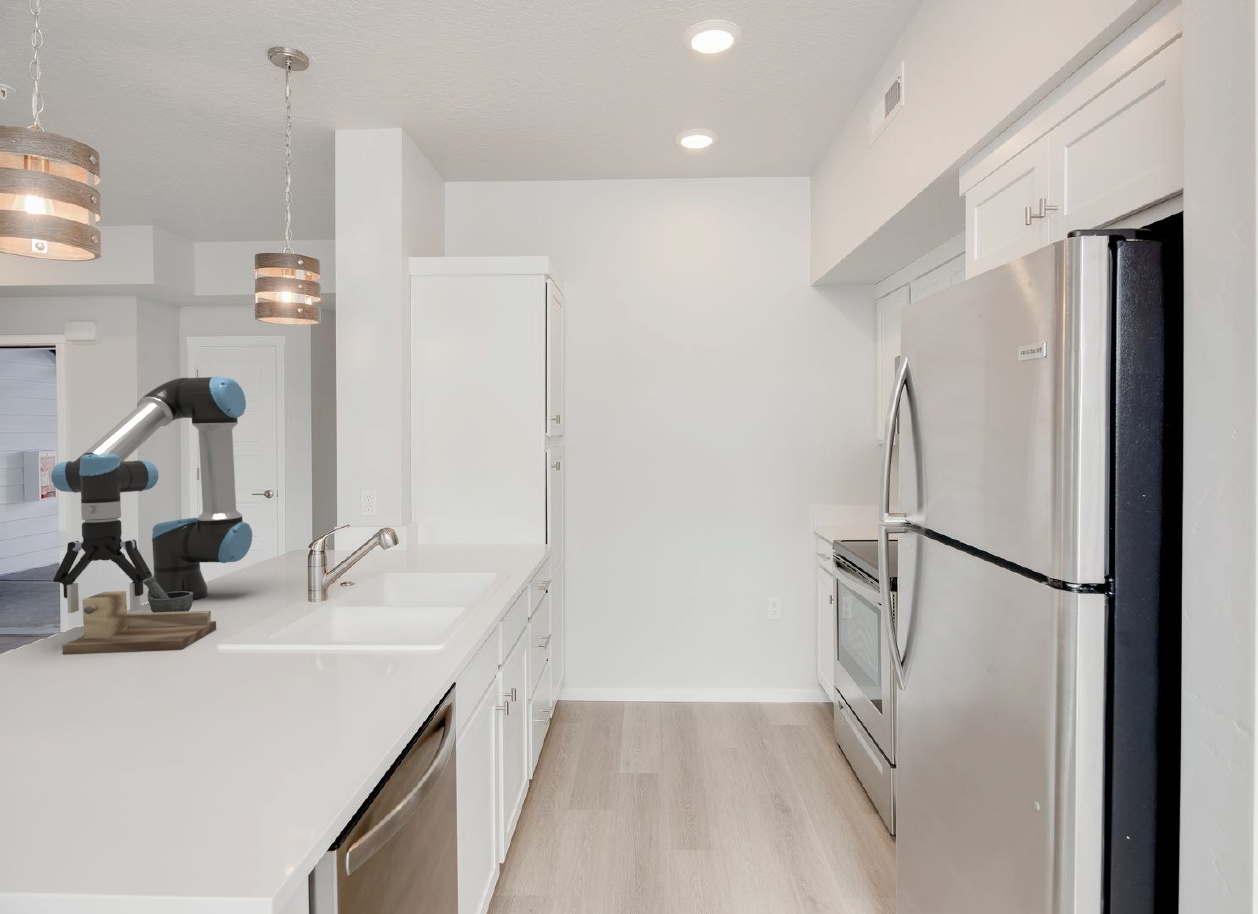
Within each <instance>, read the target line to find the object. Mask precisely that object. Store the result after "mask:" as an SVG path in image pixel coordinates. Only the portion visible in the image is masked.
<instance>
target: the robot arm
mask: <svg viewBox="0 0 1258 914" xmlns="http://www.w3.org/2000/svg"><path fill="white" fill-rule="evenodd" d="M246 407H247V403H246V396H245V392H244V391H243V389H242V386H240V384H239V383H238V382H237V381H236V380H234V379H233V378H230V377H221V376H220V377H219V376H211V377H209V376H208V377H179V378H174V379H172V380H169V381H167V382H164V383H162V384H160V385H159V386H157V387H155V388H153V389H152V390H150V391H149V392H148V393H146V394H144V396H143V397H141V398H140V399H139V400H138V402H137V404H136V408H135V409H133V410H132V411H131V412H130V413H129V414H128V415H126V416H125V417H124V418H123V419H122V420H121V421H120V422H118V423H117V424H116V425H115V426H113V428H111V430H109V431H108V432H107V433H106V434H104V435H103V436H102V437H101V438H100V439H99V440H97V441H96V442H95V443H94V444H93V445H92V446H91V447H89V449H87V450H86V451H84V452H83V454H81V455H80V456H79V457H78V458H77V459H76V460H74V461H72V460H68V461H64V462H63V461H62V462H60V463H57V464H56V465H55V466H54V467H53V469H52V471H51V475H50V479H51V482H52V484H53V486H54V487H55V489H57V490H58V491H60V492H66V493H67V492H68V493H75V494H76V493H80V508H81V509H80V514H81V520H83V522H82V523H81V536H82V541H81V542H80V541H79V540H75V541H70V542H68V543H67V548H66V553H65V555H64V558H63V559H62V561H61V563H60V565H59V566H58V569H57V571H56V573H55V575H54V577H53V579H52V580H53V582H54V583H59V584H62V586H63V587H62V588H63V598H64V599H67V600H66V601H67V602H66V603H67V614H72V613H75V612H78V611H79V610H80V605H79V604H80V603H79V582H76V580H77V578H79V576H80V575H81V574H82V573H83V572H84V571H85V569H86V568H87V567H88V566H89V565H90V563H92V561H94V562H97V561H111V562H113V563H115V564H116V565H117V567H119V569H121V571H123V573H125V575H126V576H127V577H128V578H129V579H130V580H131V581H132V582H129V610H130V612H135V611H137V610H139V609H141V596H143V595H144V583H143V582H144V581H145V580H146V579H148V578H151V577H155V580H156V582H157V583H158V584H159V585H160V587H161V588H162V589H163V590H164V592H165V593H168V592H180V591H187V592H193V601H194V600H198V599H202V598H204V597H206V596H208V586H207V584H206V580H205V578H204V577H203V574H202V571H201V563H221V564H226V563H235V562H238V561H241V560H243V558H245V556H247V554H248V552H249V551H250V549H251V545H252V542H253V530H252V528H251V526H250V524H249V523H247V522H244V521H243V514H242V513H241V512H239V511H238V510H237V502H236V501H237V500H236V479H235V460H234V457H235V456H234V439H233V438H234V437H233V429H234V428H235V427H236V426H237V425H238V424H239V423H238V418H240V417H242V416H243V415H244V414H245V410H246ZM179 419H191V425H192V426H193V427H195V428H196V430H198V447H199V463H200V465H199V466H200V480H201V481H200V483H201V484H200V485H201V500H202V501H201V502H202V503H201V505H202V512H201V514H200V515H198V517H189V518H184V519H182V518H181V519H175V520H170V521H169V520H168V521H164V522H160V523H159V522H158V523H157V524H154V526H153V528H152V535H151V536H152V537H151V541H152V557H153V559H152V561H153V562H152V563H153V574H152V572H151V570H150V568H149V567H148V565H147V563H146V561H145V559H144V557H143V556H142V554H141V552H140V551H139V549H138V546H137V540H136V539H130V540H124V541H123V540H122V520H120V519H119V518H121V517H122V508H121V506H122V505H121V493H132V492H143V491H147V490H151V489H153V488H154V487H155V486H156V485H157V483H158V480H159V470H158V469H157V467H156V465H154V463H153V462H151V461H147V460H130V461H129V460H127V459H128V458H129V457H130V456H131V455H132V454H133V453H134V452H135V451H136V450H137V449H139V448H140V446H142V444H144V443H146V441H147V440H148V439H149V438H150V437H151V436H152V435H153V434H154V433H155V432H156V431H158V429H160V428H161V427H167V426H168V425H170V424H171V422H173V421H175V420H179ZM125 460H126V461H125ZM122 548H123V550H125V551H126V554H127V555H128V558H126V555H125V554H124V553H123V552H122V551H121V550H122ZM81 550H82V551H84V553H83V554H82V556H81V557H80V558H79V560H78V561H77V563H76V564H75V565H74V563H75V562H76V561H75V560H76V559H77V557H78V556H79V554H80V553H79V552H80V551H81ZM128 559H130V560H128ZM130 561H131V562H130ZM72 567H73V568H72ZM151 596H152V594H151V592H150V591H149V590H148V591H147V602H148V603H150V597H151Z"/></svg>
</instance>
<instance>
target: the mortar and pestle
mask: <svg viewBox="0 0 1258 914" xmlns="http://www.w3.org/2000/svg"><path fill="white" fill-rule="evenodd" d="M144 585H145V586H146V587H147V589H148V591H150V592H151V594H152V596H151V597H150V602H149V607H150V610H151V613H157V612H185V611H190V610H191V608H192V605H193V602H194V600H193V592H187V591H180V592H168V593H165V592H164V590H163V589H162V588H161V587H160V585H159V584H158V583H157V582H156V580H155V577H153V576H152V577H151V578H148V579H145V580H144V581H143V586H144Z"/></svg>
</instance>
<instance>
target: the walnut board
mask: <svg viewBox="0 0 1258 914" xmlns="http://www.w3.org/2000/svg"><path fill="white" fill-rule="evenodd" d="M127 625H128V628H127V629H125V630H123V631H121V632H119V633H116V634H114V635H112V636H110V637H108V638H87V639H84V635H83V636H80V637H78V638H76V639H74V640H71V641H68V642H66V643H64V644H62V655H74V654H75V655H77V654H99V653H100V654H102V653H124V652H125V653H126V652H127V653H128V652H151V651H172V650H173V651H176V650H177V651H178V650H183V649H185V648H187V647H188V646H190V645H193V644H194V643H195V642H197V641H198V640H200V639H202V638H203V637H205V636H207V635H209V634H210V633H212V632H215V630H217V621H216V620H212V610H191V611H190V610H189V611H185V612H157V613H153V612H133V613H128V612H127Z"/></svg>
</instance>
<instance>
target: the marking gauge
mask: <svg viewBox="0 0 1258 914" xmlns="http://www.w3.org/2000/svg"><path fill="white" fill-rule="evenodd" d="M127 602H128V601H127V591H125V590H122V591H120V590H119V591H118V590H117V591H103V592H102V591H101V592H100V593H98V594H94V595H91V596H89V597H86V598H83V599H82V621H83V623H82V624H83V625H82V626H83V636H84V639H87V638H108V637H110V636H112V635H114V634H116V633H119V632H121V631H123V630H125V629H127V628H128V625H127V614H128V607H127V606H128V603H127Z"/></svg>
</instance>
